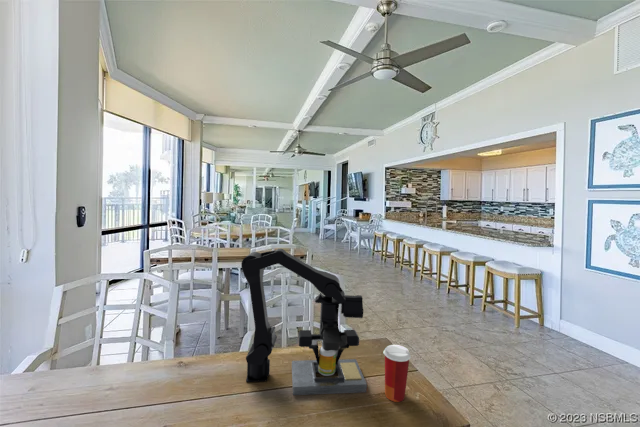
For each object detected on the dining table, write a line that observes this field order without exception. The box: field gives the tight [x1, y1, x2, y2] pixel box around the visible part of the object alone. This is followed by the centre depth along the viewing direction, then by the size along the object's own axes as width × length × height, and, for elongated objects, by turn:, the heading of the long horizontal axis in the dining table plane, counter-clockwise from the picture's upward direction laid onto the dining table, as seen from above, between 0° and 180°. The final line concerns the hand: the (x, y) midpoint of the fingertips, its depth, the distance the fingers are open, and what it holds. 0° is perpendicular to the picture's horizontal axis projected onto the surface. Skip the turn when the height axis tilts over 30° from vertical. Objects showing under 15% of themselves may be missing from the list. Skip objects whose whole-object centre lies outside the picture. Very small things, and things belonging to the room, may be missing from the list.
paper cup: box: [383, 344, 412, 403], centre depth 91 cm, size 8×8×14 cm
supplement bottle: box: [318, 341, 336, 377], centre depth 98 cm, size 5×5×10 cm
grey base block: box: [291, 358, 368, 396], centre depth 98 cm, size 22×14×3 cm, turn 97°
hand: (327, 363), depth 98 cm, fingers closed on supplement bottle, 5 cm apart
